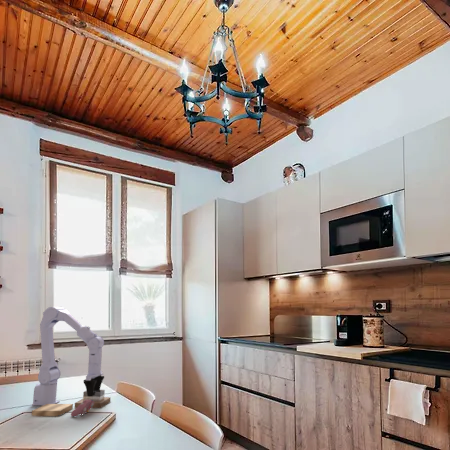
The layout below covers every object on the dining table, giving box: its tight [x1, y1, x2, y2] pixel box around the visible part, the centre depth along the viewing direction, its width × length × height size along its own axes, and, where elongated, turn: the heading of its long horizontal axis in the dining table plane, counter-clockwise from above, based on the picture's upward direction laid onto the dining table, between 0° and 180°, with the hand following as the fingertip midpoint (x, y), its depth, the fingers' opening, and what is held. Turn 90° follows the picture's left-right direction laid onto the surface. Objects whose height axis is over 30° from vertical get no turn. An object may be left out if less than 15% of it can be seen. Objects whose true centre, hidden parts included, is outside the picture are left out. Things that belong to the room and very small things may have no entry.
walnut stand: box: [74, 396, 111, 409], centre depth 190 cm, size 12×12×2 cm
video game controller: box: [70, 399, 94, 417], centre depth 173 cm, size 10×5×7 cm, turn 169°
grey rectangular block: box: [82, 389, 106, 401], centre depth 190 cm, size 5×8×4 cm, turn 85°
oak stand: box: [31, 403, 74, 417], centre depth 177 cm, size 12×12×2 cm
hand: (93, 394), depth 190 cm, fingers open, 7 cm apart
